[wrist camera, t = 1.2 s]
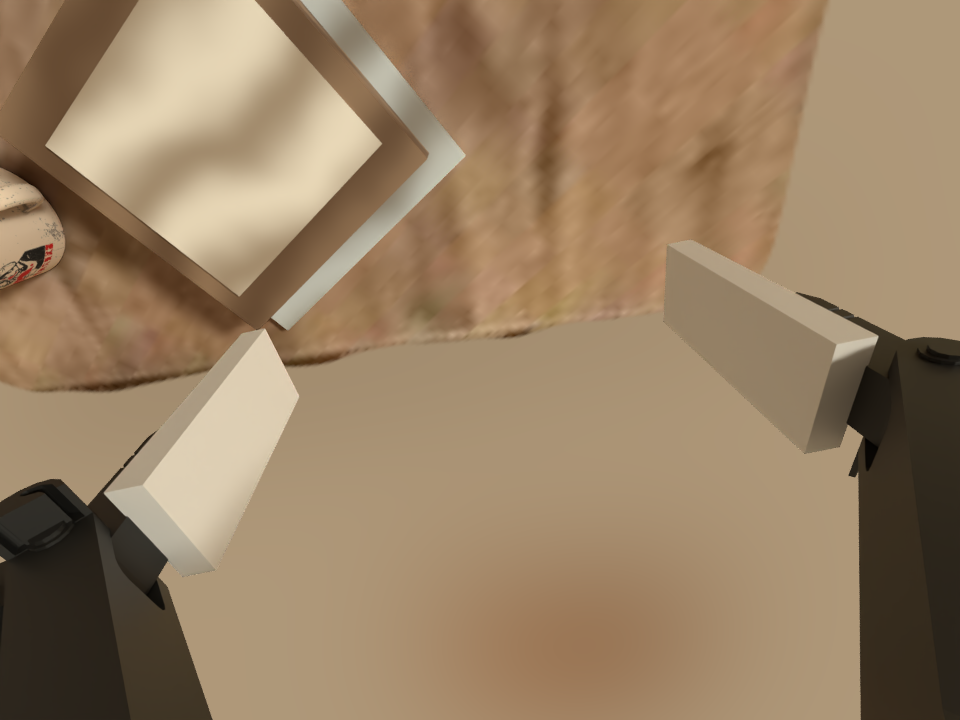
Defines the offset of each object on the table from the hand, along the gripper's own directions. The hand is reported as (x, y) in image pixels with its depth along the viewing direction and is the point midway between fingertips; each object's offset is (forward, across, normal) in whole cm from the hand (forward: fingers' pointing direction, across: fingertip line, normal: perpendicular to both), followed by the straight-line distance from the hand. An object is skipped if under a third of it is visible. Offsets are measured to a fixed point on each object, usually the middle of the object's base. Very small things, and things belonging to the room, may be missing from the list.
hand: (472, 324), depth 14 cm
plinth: (+25, -13, +7) cm, 29 cm away
